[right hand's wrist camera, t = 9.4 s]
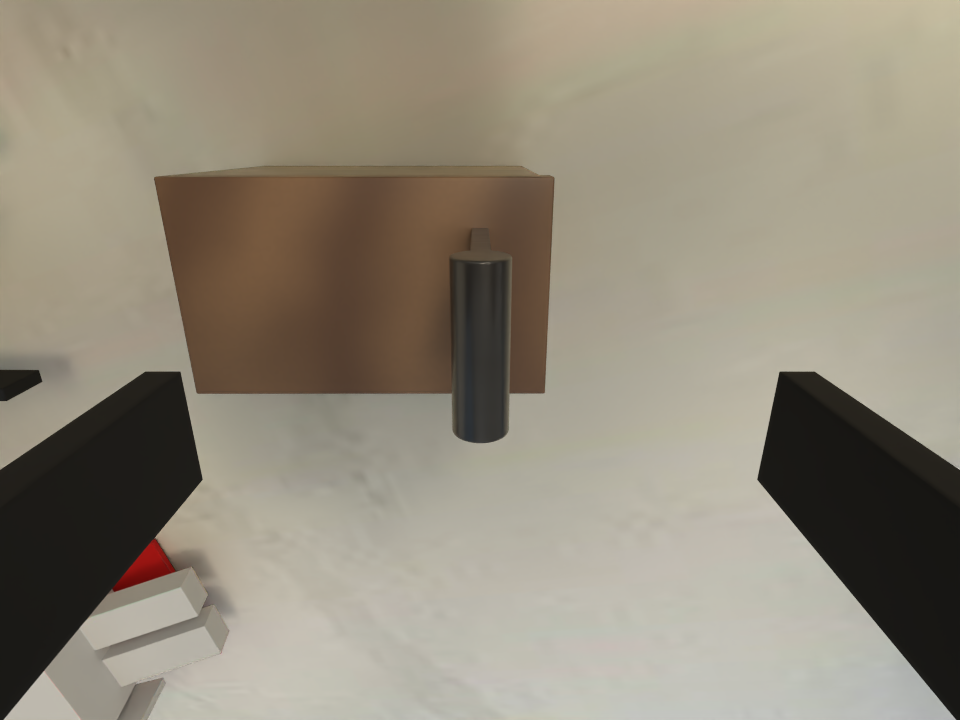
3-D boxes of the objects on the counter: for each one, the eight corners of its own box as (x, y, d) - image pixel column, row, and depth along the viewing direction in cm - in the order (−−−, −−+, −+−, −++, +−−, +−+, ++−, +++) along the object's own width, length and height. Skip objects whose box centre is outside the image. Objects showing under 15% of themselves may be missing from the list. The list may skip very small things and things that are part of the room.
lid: (550, 175, 24) (591, 192, 15) (542, 383, 27) (571, 493, 18) (169, 175, 24) (-8, 192, 15) (208, 383, 27) (82, 494, 18)
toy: (218, 738, 37) (-227, 890, 36) (264, 595, 50) (-66, 706, 49) (128, 601, 33) (-376, 768, 32) (203, 483, 46) (-158, 601, 45)
